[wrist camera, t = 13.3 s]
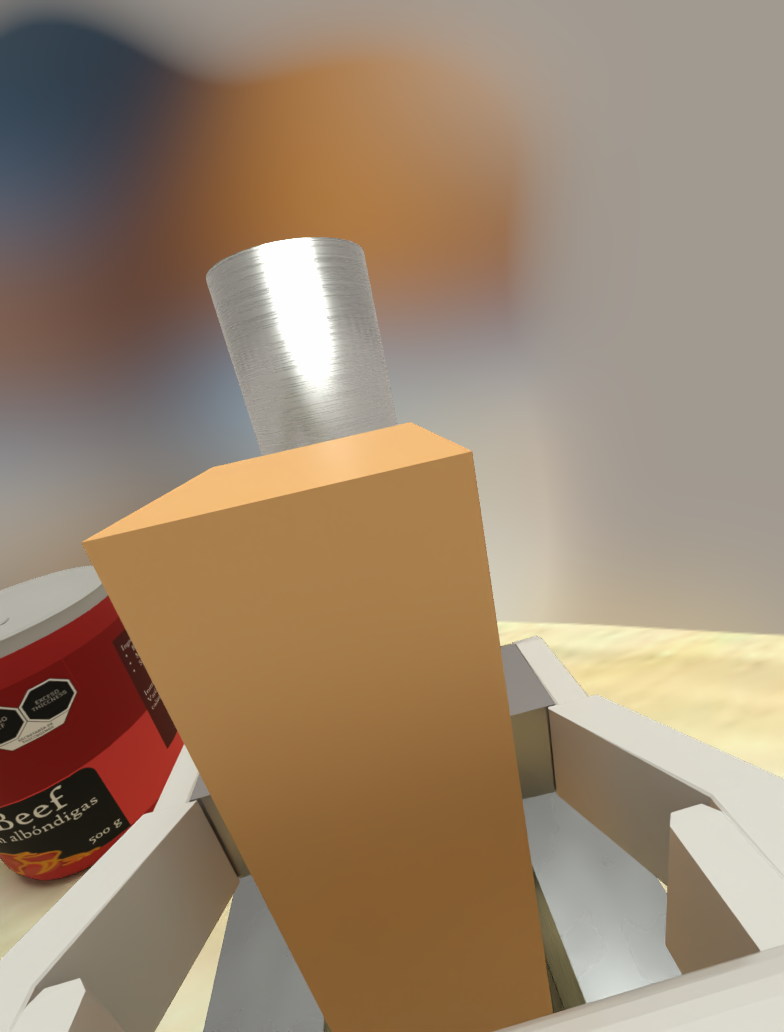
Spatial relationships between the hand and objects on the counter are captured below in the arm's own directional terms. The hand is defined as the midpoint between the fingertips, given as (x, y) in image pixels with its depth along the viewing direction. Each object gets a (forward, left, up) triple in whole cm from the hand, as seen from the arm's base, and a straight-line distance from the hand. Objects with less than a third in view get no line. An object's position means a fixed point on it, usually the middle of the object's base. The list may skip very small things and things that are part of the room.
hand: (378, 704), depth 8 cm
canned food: (-4, +18, -11) cm, 21 cm away
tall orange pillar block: (-1, -1, -7) cm, 7 cm away
